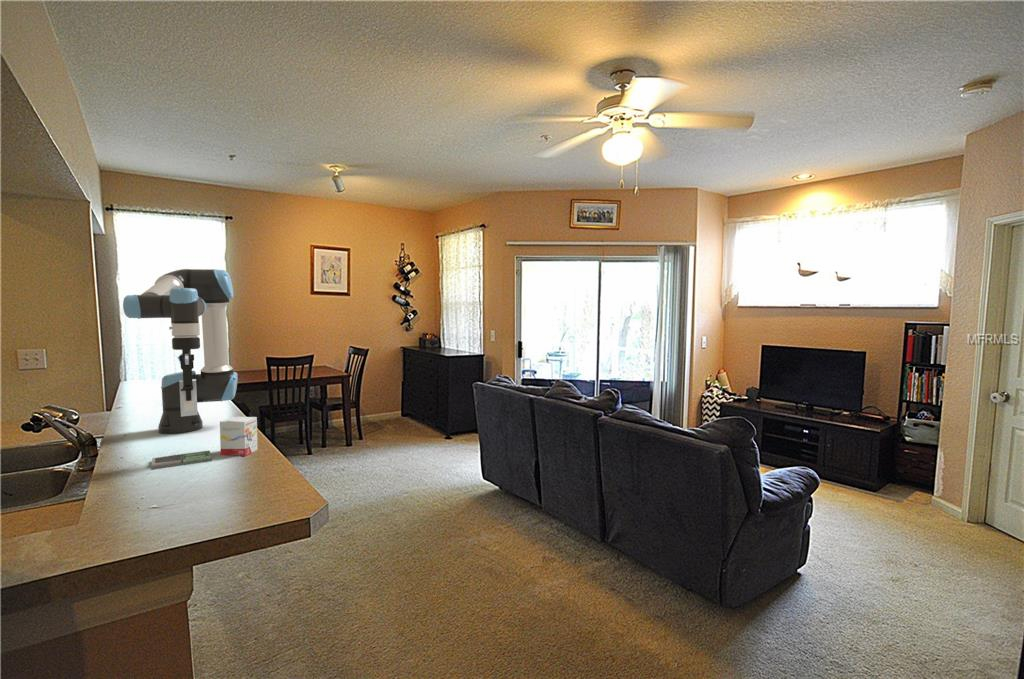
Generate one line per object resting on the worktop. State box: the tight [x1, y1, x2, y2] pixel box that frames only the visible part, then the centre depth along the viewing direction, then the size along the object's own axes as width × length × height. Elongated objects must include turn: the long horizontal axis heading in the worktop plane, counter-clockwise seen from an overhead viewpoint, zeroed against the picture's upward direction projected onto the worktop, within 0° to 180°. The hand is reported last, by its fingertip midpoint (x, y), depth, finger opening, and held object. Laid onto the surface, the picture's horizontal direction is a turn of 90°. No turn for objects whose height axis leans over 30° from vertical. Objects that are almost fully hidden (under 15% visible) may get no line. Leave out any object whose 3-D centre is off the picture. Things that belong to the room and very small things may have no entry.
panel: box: [150, 450, 213, 471], centre depth 164 cm, size 13×16×2 cm
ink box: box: [219, 416, 258, 457], centre depth 174 cm, size 9×9×12 cm
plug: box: [179, 379, 199, 417], centre depth 165 cm, size 4×4×12 cm
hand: (189, 409), depth 165 cm, fingers closed on plug, 4 cm apart
